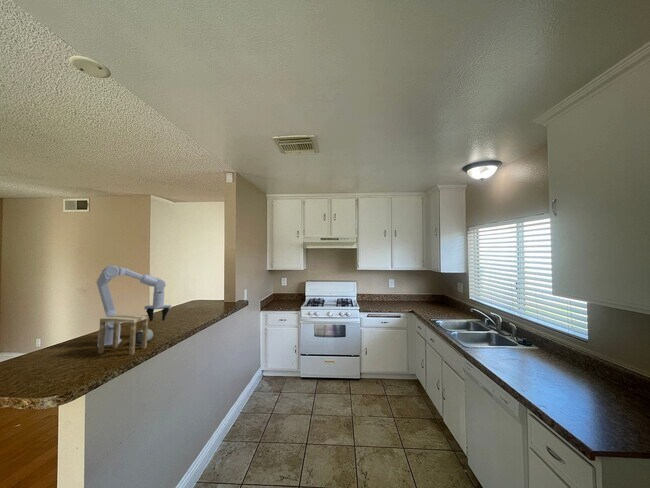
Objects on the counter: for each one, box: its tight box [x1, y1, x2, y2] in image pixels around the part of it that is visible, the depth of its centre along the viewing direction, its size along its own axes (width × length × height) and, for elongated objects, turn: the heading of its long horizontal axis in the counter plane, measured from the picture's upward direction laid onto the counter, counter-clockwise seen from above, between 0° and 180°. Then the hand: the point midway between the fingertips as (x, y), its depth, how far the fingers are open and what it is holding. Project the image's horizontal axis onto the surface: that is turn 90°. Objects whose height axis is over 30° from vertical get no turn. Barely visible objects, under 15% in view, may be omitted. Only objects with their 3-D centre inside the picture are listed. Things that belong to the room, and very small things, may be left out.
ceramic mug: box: [135, 328, 154, 346], centre depth 146 cm, size 11×8×8 cm
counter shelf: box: [97, 313, 149, 356], centre depth 134 cm, size 10×18×18 cm, turn 88°
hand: (157, 320), depth 159 cm, fingers open, 6 cm apart
